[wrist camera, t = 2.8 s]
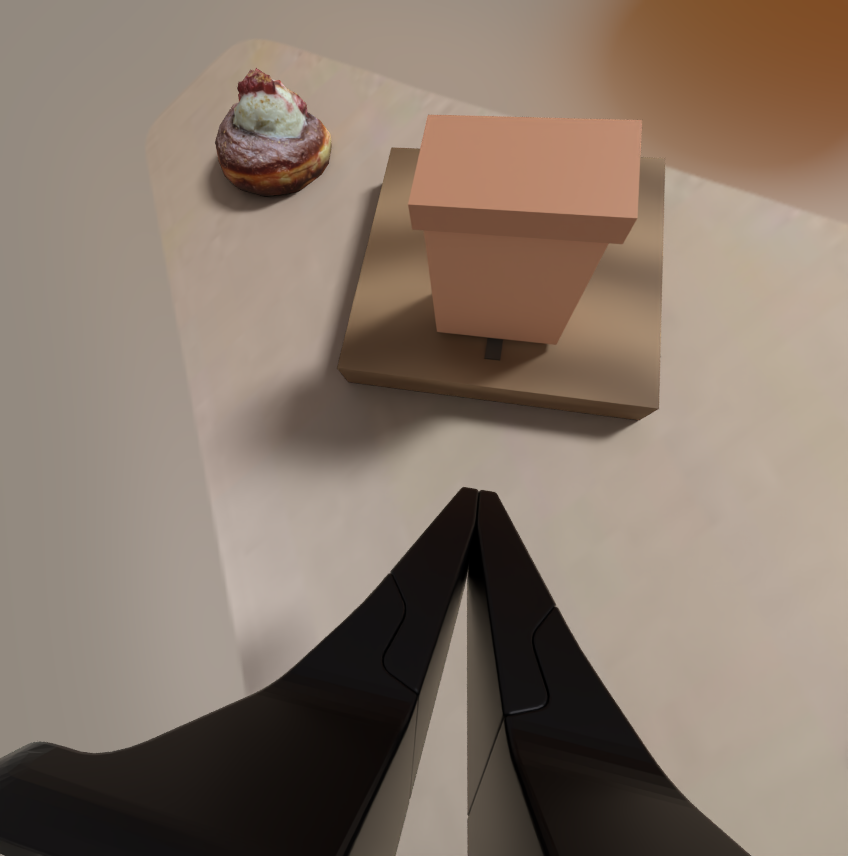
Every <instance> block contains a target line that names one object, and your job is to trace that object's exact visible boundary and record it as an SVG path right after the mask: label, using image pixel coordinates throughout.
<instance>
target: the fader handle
mask: <svg viewBox="0 0 848 856" xmlns="http://www.w3.org/2000/svg"><path fill="white" fill-rule="evenodd" d="M641 129H642V121H641V120H610V119H572V118H534V117H533V118H532V117H495V116H456V115H428V117H427V121H426V126H425V130H424V135H423V139H422V144H421V148H420V153H419V157H418V162H417V166H416V171H415V175H414V180H413V184H412V189H411V193H410V197H409V202H408V208H409V214H410V220H411V225H412V230H424V237H425V244H426V252H427V260H428V267H429V275H430V282H431V290H432V298H433V305H434V313H435V321H436V328H437V332H442V333H451V334H461V335H470V336H479V337H488V338H498V339H507V340H516V341H525V342H535V343H544V344H553V345H556V344H557V343H558V341H559V339H560V337H561V335H562V333H563V331H564V329H565V327H566V325H567V323H568V321H569V319H570V317H571V316H572V314H573V312H574V310H575V308H576V306H577V304H578V302H579V300H580V298H581V296H582V294H583V292H584V290H585V288H586V287H587V285H588V283H589V281H590V279H591V277H592V275H593V273H594V271H595V269H596V267H597V265H598V263H599V261H600V259H601V258H602V256H603V254H604V252H605V250H606V248H607V246H608V244H609V243H611V244H623V243H624V241H625V239H626V238H627V236H628V234H629V232H630V231H631V229H632V227H633V225H634V224H635V222H636V220H637V218H638V197H639V175H640V152H641Z"/></svg>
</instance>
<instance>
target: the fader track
mask: <svg viewBox="0 0 848 856" xmlns="http://www.w3.org/2000/svg"><path fill="white" fill-rule="evenodd" d="M419 153H420V149H414V148H391V152H390V156H389V160H388V164H387V168H386V172H385V176H384V180H383V184H382V188H381V192H380V196H379V200H378V204H377V208H376V212H375V216H374V220H373V224H372V228H371V233H370V237H369V241H368V245H367V249H366V253H365V257H364V261H363V265H362V269H361V273H360V277H359V281H358V285H357V289H356V293H355V297H354V301H353V305H352V309H351V313H350V318H349V322H348V326H347V330H346V334H345V338H344V342H343V346H342V350H341V354H340V358H339V362H338V366H337V368H338V370H339V371H340V372H341V374H342V375H343V376H344V377H345V379H346V380H347V381H348V382H352V383H360V384H367V385H375V386H383V387H390V388H398V389H405V390H413V391H421V392H428V393H436V394H443V395H451V396H459V397H466V398H474V399H482V400H489V401H497V402H504V403H512V404H520V405H527V406H535V407H542V408H550V409H558V410H565V411H573V412H581V413H588V414H596V415H603V416H611V417H619V418H626V419H634V420H641V419H642V418H644V417H646V416H647V415H649V414H651V413H652V412H654V411H656V410H657V409H659V386H660V346H661V306H662V266H663V226H664V186H665V158H646V157H640V175H639V197H638V218H637V220H636V222H635V224H634V225H633V227H632V229H631V231H630V232H629V234H628V236H627V238H626V239H625V241H624V243H623V244H611V243H609V244H608V246H607V248H606V250H605V252H604V254H603V256H602V258H601V259H600V261H599V263H598V265H597V267H596V269H595V271H594V273H593V275H592V277H591V279H590V281H589V283H588V285H587V287H586V288H585V290H584V292H583V294H582V296H581V298H580V300H579V302H578V304H577V306H576V308H575V310H574V312H573V314H572V316H571V317H570V319H569V321H568V323H567V325H566V327H565V329H564V331H563V333H562V335H561V337H560V339H559V341H558V343H557V344H556V345H553V344H544V343H535V342H525V341H516V340H507V339H498V338H488V337H479V336H470V335H461V334H451V333H442V332H437V328H436V321H435V313H434V305H433V298H432V290H431V282H430V275H429V267H428V260H427V252H426V244H425V237H424V230H412V225H411V220H410V214H409V208H408V202H409V197H410V193H411V189H412V184H413V180H414V175H415V171H416V166H417V162H418V157H419Z"/></svg>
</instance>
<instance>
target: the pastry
mask: <svg viewBox="0 0 848 856" xmlns="http://www.w3.org/2000/svg"><path fill="white" fill-rule="evenodd" d="M237 89H238V91H239V94H238V96H239V103H236V104H234V105H233V106H232V107H231V109H230V110H229V112H228V113H227V115H226V117H225V118H224V120H223V121H222V123H221V124H220V126H219V130H218V134H217V137H216V141H215V144H216V149H217V154H218V159H219V163H220V165H221V168H222V170H223V173H224V175H225V177H226V178H227V179H228V180H229V181H230V182H232V183H233V184H234V185H235V186H236V187H237V188H239V189H240V190H243V191H247V192H251V193H255V194H259V195H263V196H268V195H281V194H287V193H294V192H297V191H300V190H301V189H303V188H304V187H305V186H307V185H308V184H309V183H311V182H312V181H313V180H315V179H316V178H318V177H319V176H320V175H322V173H323V171H324V170H325V168H326V167H327V165H328V164H329V159H330V153H331V147H332V146H331V135H330V133H329V132H328V131H327V129H326V128H325V127H324V125H323V124H322V123H321V121H320V120H319V119H317V118H316V117H314V116H313V115H311V114H310V113H308V112H307V105H306V103H305V102H304V101H303V100H302V99H301V98H300V97H299V96H298V95H297V94H296V93H294V92H292V91H290V90H289V89H288V88H285V87H284V85H283V84H282V83H281V81H280V80H272V79H271V77H270V76H269V75H266V74H265V73H263V72H262V71H260V70H258V69H257V68H256V69H255V71H254V70H250V71H249V73H248V74H247V76H246V77H245V78H244V80H243V81H242V82H239V83H238V88H237Z"/></svg>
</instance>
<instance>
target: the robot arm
mask: <svg viewBox="0 0 848 856" xmlns="http://www.w3.org/2000/svg"><path fill="white" fill-rule="evenodd" d="M467 573H468V577H467ZM466 579H467V793H468V816H469V817H468V820H467V823H468V856H751V855H750V854H749V853H747V852H746V851H745V850H744V849H743V848H742V847H741V846H739V845H738V844H737V843H736V842H735V841H734V840H733V839H731V838H730V837H729V836H728V835H727V834H726V833H725V832H723V831H722V830H721V829H720V828H719V827H718V826H717V825H715V824H714V823H713V822H712V821H711V820H710V819H709V818H707V817H706V816H705V815H704V814H703V813H702V812H701V811H699V810H698V809H697V808H696V807H695V806H694V805H693V804H692V803H691V802H690V801H689V800H688V799H687V798H686V797H685V796H684V795H683V794H682V793H681V792H680V791H679V790H678V788H677V787H676V786H675V785H674V784H673V783H672V781H671V780H670V779H669V778H668V777H667V775H666V774H665V773H664V772H663V770H662V769H661V768H660V766H659V765H658V764H657V762H656V761H655V760H654V758H653V757H652V755H651V754H650V752H649V751H648V750H647V748H646V747H645V745H644V744H643V742H642V741H641V739H640V738H639V736H638V735H637V733H636V732H635V730H634V729H633V727H632V726H631V724H630V723H629V721H628V720H627V718H626V717H625V715H624V714H623V712H622V711H621V709H620V708H619V706H618V705H617V703H616V702H615V700H614V699H613V697H612V696H611V694H610V693H609V691H608V690H607V688H606V687H605V685H604V684H603V682H602V681H601V679H600V678H599V676H598V675H597V673H596V672H595V670H594V669H593V667H592V666H591V664H590V662H589V661H588V659H587V658H586V656H585V655H584V653H583V652H582V650H581V648H580V647H579V645H578V643H577V641H576V640H575V638H574V636H573V634H572V633H571V631H570V629H569V627H568V626H567V624H566V622H565V620H564V618H563V616H562V614H561V612H560V611H559V609H558V608H557V607H556V603H555V602H554V600H553V598H552V596H551V594H550V592H549V590H548V588H547V587H546V585H545V583H544V581H543V579H542V577H541V575H540V573H539V572H538V570H537V568H536V566H535V564H534V562H533V560H532V558H531V557H530V555H529V553H528V551H527V549H526V547H525V545H524V544H523V542H522V540H521V538H520V536H519V534H518V532H517V530H516V529H515V527H514V525H513V523H512V521H511V519H510V517H509V515H508V514H507V512H506V510H505V508H504V506H503V504H502V502H501V500H500V499H499V497H498V495H497V493H495V492H492V491H486V490H480V491H478V490H477V489H473V488H467V487H462V488H461V489H460V490H459V491H458V493H457V494H456V495H455V496H454V497H453V498H452V500H451V501H450V502H449V503H448V504H447V506H446V507H445V508H444V509H443V510H442V511H441V513H440V514H439V515H438V516H437V517H436V518H435V520H434V521H433V522H432V523H431V524H430V526H429V527H428V528H427V529H426V530H425V531H424V533H423V534H422V535H421V536H420V537H419V538H418V540H417V541H416V542H415V543H414V544H413V546H412V547H411V548H410V549H409V550H408V551H407V553H406V554H405V555H404V556H403V557H402V558H401V560H400V561H399V562H398V563H397V564H396V565H395V567H394V568H393V569H392V570H391V572H390V573H389V574H388V575H387V576H386V577H385V578H384V579H383V581H382V582H381V583H380V584H379V585H378V586H377V587H376V589H375V590H374V591H373V592H372V593H371V594H370V595H369V596H368V597H367V598H366V599H365V601H364V602H363V603H362V604H361V605H360V606H359V607H358V608H357V609H355V610H354V611H353V612H352V613H351V614H350V615H349V616H348V617H347V618H346V619H345V620H344V621H343V622H342V623H341V624H340V625H339V626H338V627H336V628H335V629H334V630H333V631H332V632H331V633H330V634H329V635H328V636H327V637H325V638H324V639H323V640H322V641H321V642H320V643H319V644H318V645H317V646H316V647H315V648H313V649H312V650H311V651H310V652H309V653H308V654H307V655H306V656H305V657H304V658H303V659H301V660H300V661H299V662H298V663H297V664H296V665H295V666H294V667H293V668H291V669H290V670H289V671H288V672H287V673H286V674H284V675H283V676H282V677H280V678H279V679H278V680H276V681H275V682H273V683H272V684H270V685H269V686H267V687H265V688H264V689H262V690H260V691H258V692H256V693H254V694H252V695H250V696H247V697H245V698H243V699H241V700H238V701H236V702H234V703H232V704H229V705H227V706H225V707H223V708H221V709H218V710H216V711H214V712H211V713H209V714H207V715H205V716H202V717H200V718H198V719H196V720H193V721H191V722H189V723H187V724H184V725H182V726H180V727H177V728H175V729H173V730H171V731H169V732H166V733H164V734H162V735H160V736H157V737H155V738H153V739H151V740H148V741H146V742H143V743H140V744H138V745H135V746H132V747H129V748H125V749H121V750H117V751H113V752H105V753H87V752H80V751H77V750H73V749H70V748H67V747H64V746H60V745H56V744H53V743H48V742H33V743H30V744H27V745H25V746H23V747H22V748H19V749H17V750H15V751H14V752H12V753H10V754H8V755H6V756H4V757H2V758H0V854H2V855H5V856H396V852H397V848H398V844H399V840H400V836H401V832H402V828H403V824H404V821H405V817H406V813H407V809H408V805H409V799H410V797H411V793H412V789H413V786H414V782H415V778H416V774H417V770H418V766H419V762H420V758H421V754H422V751H423V747H424V743H425V739H426V735H427V731H428V727H429V723H430V720H431V716H432V712H433V708H434V704H435V700H436V696H437V692H438V688H439V685H440V681H441V677H442V673H443V669H444V665H445V661H446V657H447V654H448V650H449V646H450V642H451V638H452V634H453V630H454V626H455V623H456V619H457V615H458V611H459V607H460V603H461V599H462V595H463V591H464V587H465V583H466Z"/></svg>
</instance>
